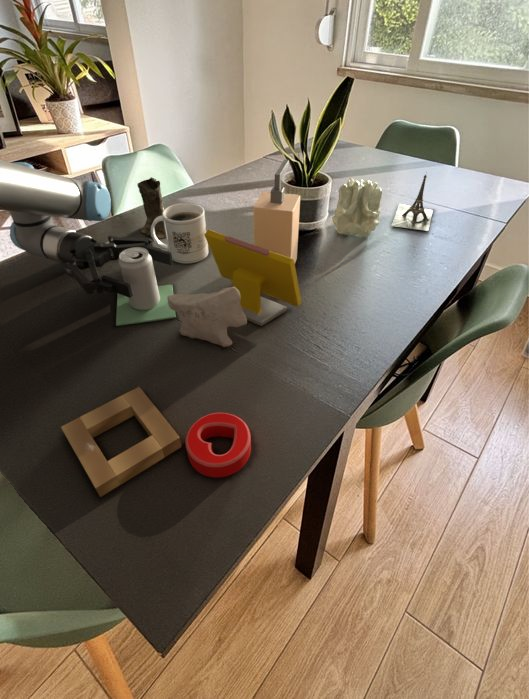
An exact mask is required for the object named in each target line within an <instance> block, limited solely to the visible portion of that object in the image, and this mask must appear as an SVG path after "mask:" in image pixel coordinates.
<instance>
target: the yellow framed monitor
mask: <svg viewBox="0 0 529 699" xmlns="http://www.w3.org/2000/svg"><path fill="white" fill-rule="evenodd" d="M206 231H207V232H206V233H205V234H204V235H205V238H206V240H207V242H208V248H209V250H210V252H211V255H212V256H213V259H214V261H215V264H216V266H217V268H218V271H219V274H220V276H221V277H222V278H224V279H227V280H230V281H231V282H232V287H235V288H236V289H238V290H239V292H240V297H241V298H240V305H241V308H242V310H243V312H244V314H245V316H246V319H247V321H249V322H251V323H252V324H253V323H254V324H255V325H258V326H260V327H262V326H265V325H266V324H267V323H269V322H271V321H272V320H274V319H275V318H277V317H279V316H281V315H282V314H284V313H285V312H287V311H288V307H287V306H285V305H283V304H281V303H278V302H276V301H274V300H271V299H268V298H266V297H263V296H261V293H262V294H264V295H267V296H270V297H273V298H274V299H277V300H280V301H282V302H285V303H288V304H290V305H292V306H294V307H300V305H301V304H302V297H301V291H300V290H301V289H300V286H299V281H298V275H297V270H296V262H295V263H294V259H291V258H289V257H286V256H283V255H280V254H277V253H274V252H271V251H269V250H267V249H264V248H261V247H258V246H255V245H254V244H252V243H249V242H246V241H243V240H241V239H238V238H235V237H232V236H229V235H225V234H223V233H220V232H217V231H214V230H211V229H207V230H206Z"/></svg>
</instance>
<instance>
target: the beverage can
mask: <svg viewBox="0 0 529 699" xmlns="http://www.w3.org/2000/svg"><path fill="white" fill-rule="evenodd" d="M118 265H119V269H120V273H121V277H122V280H123V282H125V283H128V284H130V286H131V290H132V294H133V296H132V297H131V298H129V297H128V299H129V302H130V305H131V306H132V307H133V308H135V309H139V310H149V309H152V308H154V307H155V306H156V305H157V304H158V303H159V301H160V295H159V290H158V286H159V285H158V282H157V277H156V272H155V268H154V262H153V260H152V257H151V255H150V254H149V253H148V250H146V249H145V248H141V247H133V248H129V249H126V250H124V251H122V252H121V253H120V255H119V258H118Z"/></svg>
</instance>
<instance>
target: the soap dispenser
mask: <svg viewBox="0 0 529 699" xmlns="http://www.w3.org/2000/svg"><path fill="white" fill-rule="evenodd" d="M289 167H290V159H283V161H282V162H281V164H280V166H279V167H278V169H277V170H276V172H275V174H274V185H273V186H272V188H271V190H270V191H266V190H263V191H262V192H261V194H260V196H259V197H258V199H257V200H256V202H255V203H254V205H253V207H252V213H253V214H252V216H253V217H252V218H253V245H255V246H258V247H261V248H264V249H267V250H269V251H271V252H274V253H277V254H280V255H283V256H286V257H289V258H291V259H294V263H295V264H296V262H297V259H298V246H299V244H298V243H299V228H300V227H299V226H300V211H301V210H300V209H301V194H294V193H285V190H286V189H285V187H284V186H282V179H283V177H284V176H285V175H286V172H287V171H288V169H289Z"/></svg>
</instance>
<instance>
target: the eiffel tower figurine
mask: <svg viewBox="0 0 529 699" xmlns="http://www.w3.org/2000/svg"><path fill="white" fill-rule="evenodd" d="M425 173H427V170H426V172H425ZM427 178H428V177H427V174H425V175H424V176H423V180H422V182H421V186H420V188H419V191H418V194H417V196H416V198H415V200H414V202H413V204H412V205H410V204H405V203H398V206H397V209H396V211H395V214H394V217H393V220H392V223H391V227H396V228H403V229H410V230H419V231H427V232H428V231H429V229H430V226H431V220H432V216H433V212H434V209H429V208H425V207H424V202H423V201H424V190H425V185H426V180H427Z"/></svg>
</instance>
